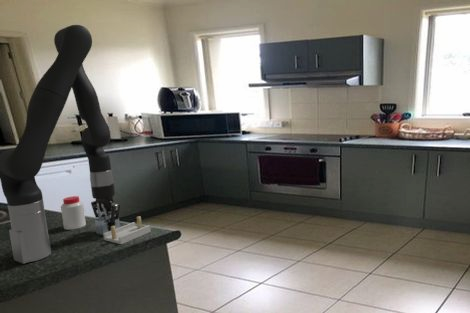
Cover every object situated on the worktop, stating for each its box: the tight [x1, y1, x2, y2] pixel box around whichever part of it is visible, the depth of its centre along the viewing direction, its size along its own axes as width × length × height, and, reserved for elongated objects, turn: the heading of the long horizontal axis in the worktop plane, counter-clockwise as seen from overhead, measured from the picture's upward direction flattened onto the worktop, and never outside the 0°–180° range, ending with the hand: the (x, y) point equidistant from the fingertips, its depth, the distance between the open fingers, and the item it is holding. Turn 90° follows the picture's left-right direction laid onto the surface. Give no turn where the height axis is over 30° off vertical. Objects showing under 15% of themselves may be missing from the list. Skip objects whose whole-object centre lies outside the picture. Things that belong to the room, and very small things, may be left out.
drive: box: [94, 215, 121, 236], centre depth 130 cm, size 7×4×5 cm, turn 145°
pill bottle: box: [60, 195, 87, 231], centre depth 139 cm, size 8×8×11 cm
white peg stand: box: [102, 215, 152, 245], centre depth 124 cm, size 12×9×5 cm
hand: (108, 230), depth 131 cm, fingers closed on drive, 4 cm apart
